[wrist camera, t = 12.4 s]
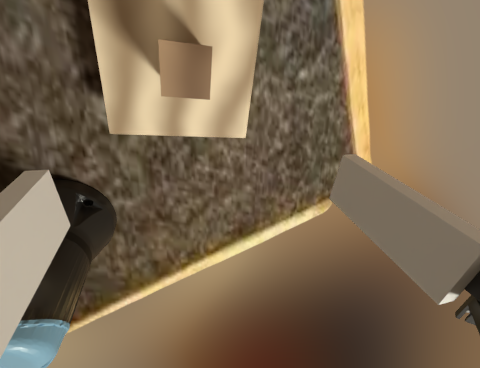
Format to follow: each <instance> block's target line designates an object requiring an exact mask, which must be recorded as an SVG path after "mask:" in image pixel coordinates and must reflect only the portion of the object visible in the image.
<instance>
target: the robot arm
mask: <svg viewBox="0 0 480 368" xmlns="http://www.w3.org/2000/svg"><path fill="white" fill-rule="evenodd" d="M329 199H330V200H331V201H332V202H333V203H334V204H335V205H336V206H337V207H338V208H340V209H341V211H342V212H343V213H345V214H346V215H347V216H348V217H349V218H350V219H351V220H352V221H353V222H354V223H355V224H356V225H357V226H358V227H359V228H360V229H361V230H362V231H363V232H364V233H365V234H366V235H367V236H368V237H369V238H370V239H371V240H372V241H373V242H374V243H375V244H376V245H377V246H378V247H380V249H381V250H383V251H384V253H386V254H387V255H388V256H389V257H390V258H391V259H392V260H393V261H394V262H395V263H396V264H397V265H398V266H399V267H400V268H401V269H402V270H403V271H404V272H405V273H406V274H407V275H408V276H409V277H410V278H411V279H412V280H413V281H414V282H415V283H416V284H417V285H418V286H419V287H420V288H421V289H423V291H425V292H426V293H427V294H428V295H429V296H430V297H431V298H432V299H433V300H434V301H435V302H436V303H437V304H438V305H440V304H443V303H447V302H451V301H454V300H455V299H456V298H457V297H458V296H459V295H460V294H461V292H462V291H463V290H464V289H465V290H466V291H468V292H469V293H470V294H471V296H470V297H469V298H468V299H467V300H466V301H465V302H464V304H463V305H462V306H461V307H460V308H459V309H458V310H457V311H456V313H455V315H456V318H458V319H460V318H461V317H462V316H463V315H464V314H465V313H466V312H469V313H470V314H469V315H468V316H467V317H466V319H465V321H466V322H468V323H471V324H474V325H476V327H477V329H478V331H479V333H480V229H478V228H477V227H475V226H473V225H472V224H470V223H468V222H467V221H465V220H463V219H462V218H460V217H458V216H457V215H455V214H453V213H452V212H450V211H448V210H447V209H445V208H443V207H442V206H440V205H438V204H437V203H435V202H433V201H431V200H430V199H428V198H427V197H425V196H423V195H422V194H420V193H419V192H417V191H415V190H414V189H412V188H410V187H409V186H407V185H405V184H403V183H402V182H400V181H398V180H397V179H395V178H394V177H392V176H390V175H389V174H387V173H385V172H384V171H382V170H380V169H379V168H377V167H375V166H374V165H372V164H370V163H369V162H367V161H365V160H364V159H362V158H360V157H359V156H357V155H356V154H353V155H343V157H342V160H341V163H340V166H339V169H338V173H337V176H336V179H335V182H334V185H333V188H332V192H331V195H330V198H329ZM116 222H117V218H116V213H115V210H114V208H113V206H112V204H111V203H110V202H109V200H108V199H107V198H106V197H105V196H104V195H102V194H101V193H100V192H98V191H97V190H95V189H93V188H91V187H89V186H87V185H84V184H82V183H78V182H74V181H70V180H61V179H52V177H51V174H50V172H49V170H34V171H24V172H23V173H22V174H21V175H20V176H18V177H17V178H16V179H15V180H14V181H13V182H12V183H11V184H10V185H9V186H7V187H6V188H5V189H4V190H3V191H2V192H1V193H0V368H46V367H47V366H48V365H49V364H50V363H51V362H52V361H53V359H54V357H55V356H56V354H57V352H58V350H59V347H60V345H61V342H62V340H63V338H64V336H65V334H66V333H67V331H68V330H69V327H70V323H71V320H72V317H73V314H74V311H75V308H76V305H77V302H78V299H79V296H80V293H81V290H82V288H83V285H84V282H85V279H86V276H87V273H88V270H89V267H90V264H91V262H92V260H93V259H94V258H95V257H96V256H97V255H98V254H99V253H100V251H101V250H102V249H103V248H104V247H105V246H106V245H107V244H108V243H109V241H110V240H111V238H112V236H113V233H114V230H115V227H116Z"/></svg>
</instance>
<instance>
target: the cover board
mask: <svg viewBox="0 0 480 368" xmlns="http://www.w3.org/2000/svg"><path fill="white" fill-rule="evenodd" d="M263 2H264V0H88V5H89V11H90V17H91V23H92V29H93V35H94V41H95V47H96V53H97V59H98V65H99V71H100V77H101V83H102V89H103V95H104V101H105V107H106V113H107V119H108V125H109V131H110V134H132V135H165V136H199V137H232V138H245V137H246V130H247V122H248V115H249V107H250V100H251V92H252V85H253V77H254V69H255V62H256V54H257V47H258V39H259V32H260V24H261V17H262V9H263Z"/></svg>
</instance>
